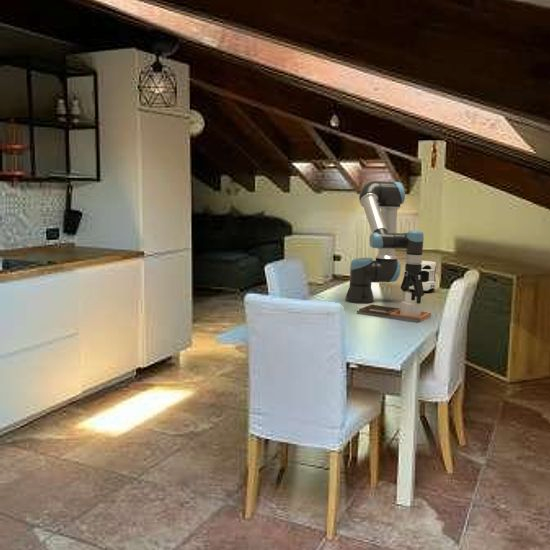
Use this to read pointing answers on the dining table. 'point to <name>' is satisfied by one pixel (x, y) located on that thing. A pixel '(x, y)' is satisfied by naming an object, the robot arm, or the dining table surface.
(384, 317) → the rail bar
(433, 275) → the milk container
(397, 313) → the frame
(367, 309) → the frame
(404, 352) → the dining table surface
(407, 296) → the medicine bottle
